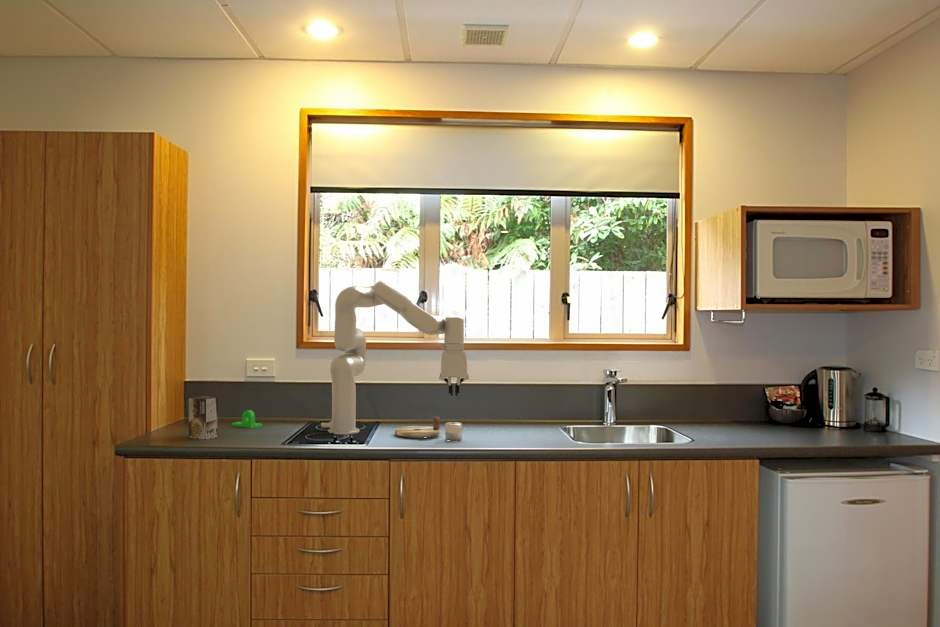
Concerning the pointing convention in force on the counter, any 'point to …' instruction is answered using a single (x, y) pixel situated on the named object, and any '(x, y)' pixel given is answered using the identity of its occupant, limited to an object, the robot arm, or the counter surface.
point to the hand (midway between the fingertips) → (453, 395)
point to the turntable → (420, 430)
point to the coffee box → (203, 417)
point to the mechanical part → (247, 420)
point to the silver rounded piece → (453, 431)
